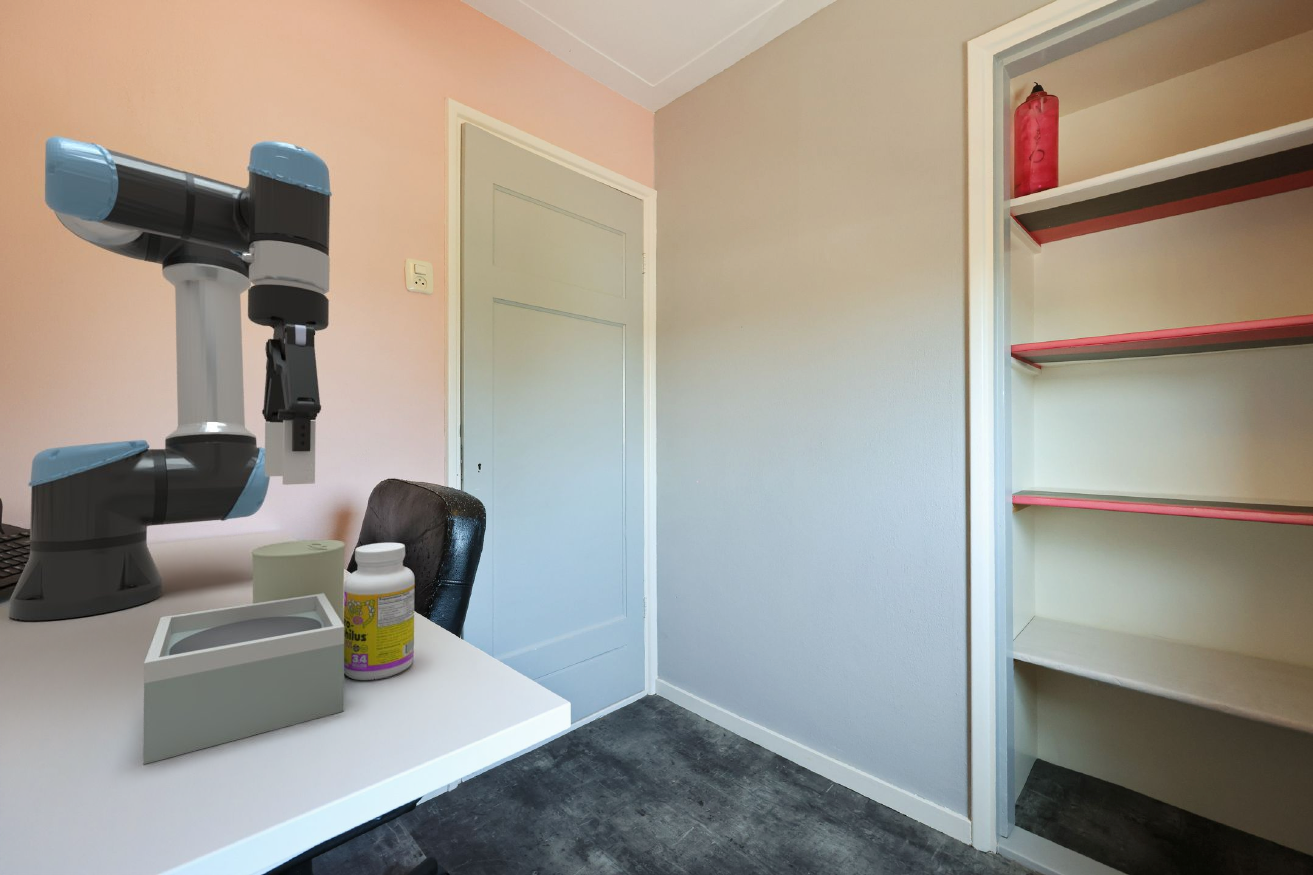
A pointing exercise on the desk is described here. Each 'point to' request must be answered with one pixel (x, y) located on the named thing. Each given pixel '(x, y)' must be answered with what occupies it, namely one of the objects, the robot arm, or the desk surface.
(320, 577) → the can
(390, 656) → the supplement bottle
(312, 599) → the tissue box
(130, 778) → the desk surface
